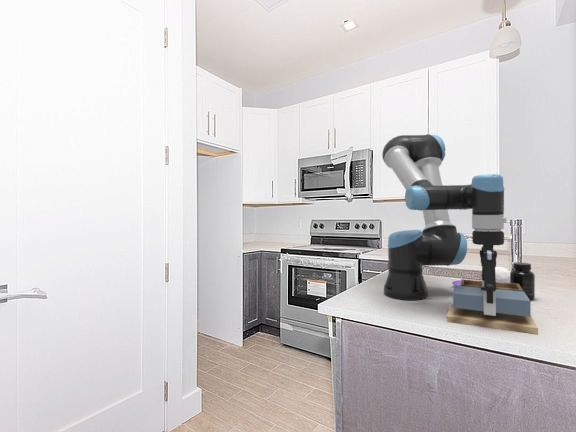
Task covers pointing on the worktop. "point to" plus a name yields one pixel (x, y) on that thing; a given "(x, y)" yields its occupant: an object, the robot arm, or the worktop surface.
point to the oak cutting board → (492, 320)
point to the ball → (502, 274)
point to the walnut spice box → (498, 285)
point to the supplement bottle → (524, 278)
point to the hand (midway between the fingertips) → (488, 309)
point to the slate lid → (505, 300)
